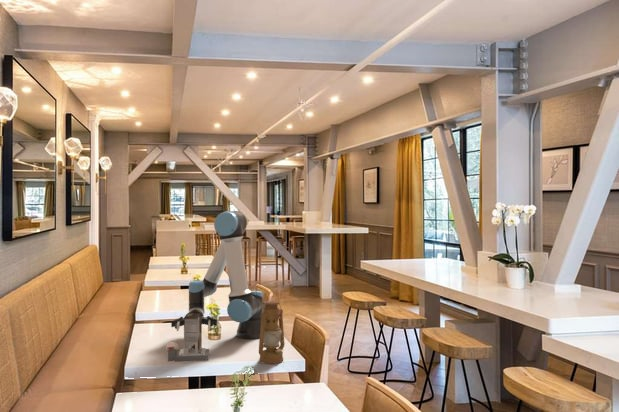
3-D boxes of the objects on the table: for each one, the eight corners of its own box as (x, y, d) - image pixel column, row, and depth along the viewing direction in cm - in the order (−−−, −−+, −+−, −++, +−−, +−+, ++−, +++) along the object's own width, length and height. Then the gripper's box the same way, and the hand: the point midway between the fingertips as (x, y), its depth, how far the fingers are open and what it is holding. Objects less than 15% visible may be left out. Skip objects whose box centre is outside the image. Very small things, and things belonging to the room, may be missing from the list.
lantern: (274, 367, 209) (274, 295, 209) (252, 364, 213) (252, 293, 213) (289, 357, 223) (289, 289, 223) (268, 354, 227) (268, 287, 227)
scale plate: (205, 349, 227) (205, 347, 227) (204, 355, 218) (204, 353, 218) (180, 350, 226) (180, 348, 226) (178, 356, 217) (178, 354, 217)
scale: (209, 353, 228) (209, 336, 228) (208, 360, 218) (208, 342, 218) (168, 355, 225) (168, 338, 225) (165, 362, 216) (165, 344, 215)
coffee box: (187, 348, 226) (187, 312, 226) (202, 348, 227) (202, 312, 227) (183, 354, 217) (183, 317, 217) (198, 354, 218) (198, 317, 218)
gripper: (221, 323, 245) (222, 334, 225) (168, 325, 241) (164, 337, 220) (221, 308, 245) (222, 317, 225) (168, 309, 241) (164, 319, 220)
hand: (193, 327), depth 222 cm, fingers open, 13 cm apart
